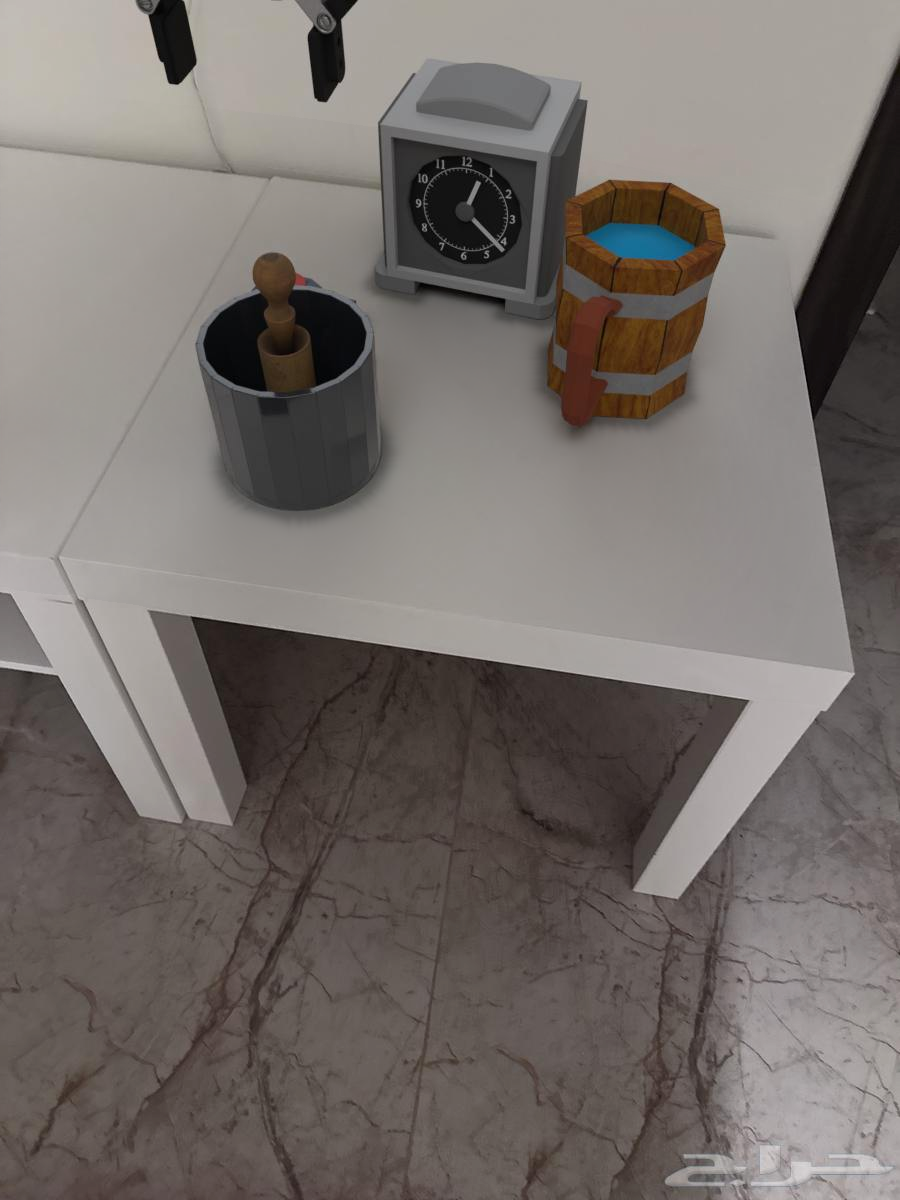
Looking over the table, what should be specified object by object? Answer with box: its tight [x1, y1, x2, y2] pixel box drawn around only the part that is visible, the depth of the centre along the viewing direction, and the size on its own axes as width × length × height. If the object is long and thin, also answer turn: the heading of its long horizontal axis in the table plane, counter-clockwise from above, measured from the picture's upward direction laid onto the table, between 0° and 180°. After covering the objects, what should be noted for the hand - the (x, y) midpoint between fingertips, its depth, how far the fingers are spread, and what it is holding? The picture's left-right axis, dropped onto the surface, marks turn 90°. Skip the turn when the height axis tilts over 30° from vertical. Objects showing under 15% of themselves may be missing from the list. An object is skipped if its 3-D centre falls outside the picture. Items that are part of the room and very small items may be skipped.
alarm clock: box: [374, 57, 589, 320], centre depth 88 cm, size 18×13×18 cm
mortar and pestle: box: [252, 251, 316, 392], centre depth 71 cm, size 7×6×18 cm
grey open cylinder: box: [194, 285, 382, 511], centre depth 74 cm, size 13×13×12 cm
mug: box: [546, 179, 727, 427], centre depth 78 cm, size 20×14×15 cm
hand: (254, 83), depth 58 cm, fingers open, 9 cm apart
